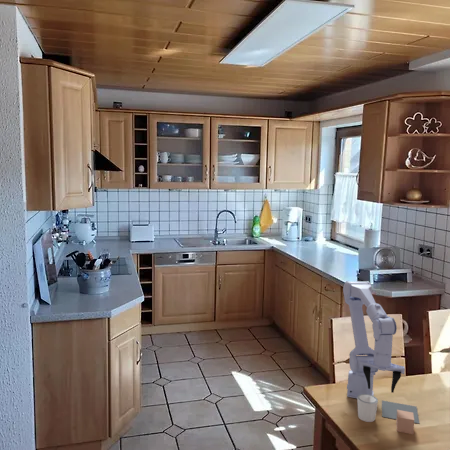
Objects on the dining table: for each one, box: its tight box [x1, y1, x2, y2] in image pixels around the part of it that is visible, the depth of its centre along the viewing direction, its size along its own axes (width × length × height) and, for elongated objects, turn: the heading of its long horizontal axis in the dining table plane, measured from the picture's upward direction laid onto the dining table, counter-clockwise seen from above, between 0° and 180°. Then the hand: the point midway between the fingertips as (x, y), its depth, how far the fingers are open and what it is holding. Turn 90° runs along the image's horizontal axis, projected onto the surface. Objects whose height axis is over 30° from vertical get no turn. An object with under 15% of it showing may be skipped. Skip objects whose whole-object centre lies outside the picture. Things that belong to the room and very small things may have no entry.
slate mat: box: [381, 400, 420, 425], centre depth 154 cm, size 12×12×1 cm
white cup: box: [356, 394, 379, 423], centre depth 150 cm, size 7×7×7 cm
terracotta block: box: [395, 410, 415, 435], centre depth 143 cm, size 5×5×5 cm
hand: (380, 389), depth 151 cm, fingers open, 7 cm apart
